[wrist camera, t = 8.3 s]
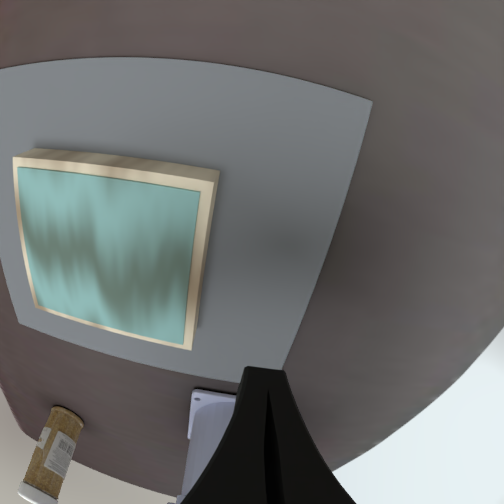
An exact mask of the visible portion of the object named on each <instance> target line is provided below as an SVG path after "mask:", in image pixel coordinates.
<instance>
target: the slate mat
mask: <svg viewBox="0 0 504 504" xmlns="http://www.w3.org/2000/svg"><path fill="white" fill-rule="evenodd" d="M372 103H373V101H370V100H367V99H364V98H361V97H358V96H355V95H352V94H349V93H346V92H343V91H340V90H336V89H333V88H330V87H326V86H323V85H319V84H315V83H312V82H308V81H304V80H300V79H296V78H292V77H287V76H283V75H279V74H274V73H269V72H264V71H259V70H254V69H248V68H242V67H236V66H230V65H223V64H216V63H208V62H199V61H189V60H178V59H163V58H139V57H106V58H83V59H69V60H58V61H49V62H41V63H33V64H27V65H21V66H15V67H9V68H4V69H0V258H1V262H2V267H3V271H4V275H5V278H6V282H7V286H8V289H9V293H10V296H11V300H12V303H13V306H14V309H15V312H16V315H17V318H18V321H19V323H20V324H23V325H25V326H28V327H30V328H33V329H35V330H38V331H40V332H43V333H46V334H48V335H51V336H54V337H57V338H59V339H62V340H65V341H68V342H71V343H74V344H77V345H80V346H83V347H86V348H89V349H92V350H96V351H99V352H102V353H106V354H109V355H112V356H116V357H119V358H123V359H127V360H130V361H134V362H138V363H142V364H146V365H150V366H154V367H158V368H163V369H167V370H172V371H176V372H181V373H186V374H191V375H196V376H201V377H206V378H212V379H218V380H223V381H230V382H236V383H240V381H241V377H242V374H243V370H244V367H246V366H254V367H261V368H269V369H277V370H281V369H282V367H283V364H284V362H285V360H286V357H287V355H288V353H289V350H290V348H291V345H292V343H293V341H294V338H295V336H296V333H297V331H298V328H299V326H300V323H301V321H302V318H303V316H304V313H305V311H306V308H307V306H308V303H309V300H310V298H311V295H312V292H313V290H314V287H315V285H316V282H317V279H318V276H319V274H320V271H321V268H322V265H323V263H324V260H325V257H326V254H327V251H328V249H329V246H330V243H331V240H332V237H333V234H334V231H335V228H336V225H337V222H338V219H339V216H340V213H341V210H342V207H343V204H344V201H345V198H346V195H347V191H348V188H349V185H350V182H351V178H352V175H353V172H354V169H355V165H356V162H357V158H358V155H359V151H360V148H361V144H362V141H363V137H364V134H365V130H366V126H367V123H368V119H369V115H370V111H371V107H372ZM34 148H41V149H55V150H68V151H80V152H90V153H100V154H109V155H118V156H127V157H134V158H142V159H150V160H157V161H164V162H170V163H177V164H183V165H190V166H196V167H202V168H207V169H213V170H219V171H220V175H219V180H218V186H217V192H216V198H215V204H214V210H213V216H212V222H211V229H210V235H209V242H208V249H207V255H206V262H205V269H204V276H203V283H202V291H201V298H200V306H199V314H198V322H197V329H196V333H195V337H194V341H193V346H192V350H186V349H181V348H176V347H172V346H167V345H163V344H159V343H154V342H150V341H146V340H142V339H138V338H134V337H130V336H126V335H122V334H118V333H115V332H111V331H107V330H104V329H100V328H97V327H94V326H90V325H87V324H83V323H80V322H77V321H74V320H71V319H68V318H64V317H61V316H58V315H55V314H52V313H49V312H47V311H44V310H41V309H38V308H35V304H34V301H33V297H32V293H31V289H30V285H29V281H28V276H27V272H26V267H25V262H24V257H23V252H22V246H21V240H20V234H19V227H18V220H17V211H16V202H15V191H14V177H13V157H14V156H16V155H19V154H21V153H23V152H26V151H28V150H31V149H34Z"/></svg>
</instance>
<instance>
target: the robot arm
mask: <svg viewBox="0 0 504 504" xmlns="http://www.w3.org/2000/svg"><path fill="white" fill-rule="evenodd" d="M188 439H190V443H189V449H188V455H187V461H186V467H185V474H184V480H183V486H182V493H181V495H178V496H177V501H176V504H356V503H355V502H354V500H353V499H352V498H351V497H350V496H349V494H348V493H347V492H346V491H345V490H344V488H343V487H342V486H341V485H340V483H339V482H338V480H337V479H336V478H335V476H334V475H333V473H332V472H331V470H330V469H329V467H328V466H327V464H326V463H325V461H324V459H323V458H322V456H321V454H320V453H319V451H318V449H317V447H316V445H315V443H314V442H313V440H312V438H311V436H310V434H309V432H308V430H307V428H306V425H305V423H304V421H303V419H302V416H301V414H300V412H299V409H298V407H297V405H296V402H295V399H294V397H293V394H292V391H291V388H290V386H289V383H288V379H287V376H286V373H285V372H284V370H277V369H269V368H261V367H254V366H246V367H244V370H243V374H242V377H241V381H240V384H239V388H238V391H237V395H229V394H223V393H217V392H211V391H206V390H200V389H195V390H193V391H192V397H191V407H190V417H189V428H188ZM167 504H175V503H167Z"/></svg>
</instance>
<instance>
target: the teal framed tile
mask: <svg viewBox="0 0 504 504" xmlns="http://www.w3.org/2000/svg"><path fill="white" fill-rule="evenodd" d="M219 175H220V171H219V170H213V169H207V168H202V167H196V166H190V165H183V164H177V163H170V162H164V161H157V160H150V159H142V158H134V157H127V156H118V155H109V154H100V153H90V152H80V151H68V150H55V149H41V148H34V149H31V150H28V151H26V152H23V153H21V154H19V155H16V156H14V157H13V177H14V191H15V202H16V211H17V220H18V227H19V234H20V240H21V246H22V252H23V257H24V262H25V267H26V272H27V276H28V281H29V285H30V289H31V293H32V297H33V301H34V304H35V308H38V309H41V310H44V311H47V312H49V313H52V314H55V315H58V316H61V317H64V318H68V319H71V320H74V321H77V322H80V323H83V324H87V325H90V326H94V327H97V328H100V329H104V330H107V331H111V332H115V333H118V334H122V335H126V336H130V337H134V338H138V339H142V340H146V341H150V342H154V343H159V344H163V345H167V346H172V347H176V348H181V349H186V350H192V346H193V341H194V337H195V333H196V329H197V322H198V314H199V306H200V298H201V291H202V283H203V276H204V269H205V262H206V255H207V249H208V242H209V235H210V229H211V222H212V216H213V210H214V204H215V198H216V192H217V186H218V180H219Z"/></svg>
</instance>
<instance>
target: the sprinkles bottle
mask: <svg viewBox="0 0 504 504" xmlns="http://www.w3.org/2000/svg"><path fill="white" fill-rule="evenodd" d="M83 426H84V424H83V421H82V420H81V419H80V418H79V417H78V416H77V415H75V414H74V413H73V412H71V411H69V410H67V409H65V408H63V407H59V406H54V407H53V408H52V409H51V414H50V416H49V418H48V421H47V423H46V425H45V427H44V428H43V431H42V433H41V435H40V438H39V440H38V443H37V445H36V448H35V450H34V453H33V455H32V459H31V462H30V464H29V467H28V470H27V472H26V475H25V478H24V479H23V482H21V483H20V486H19V489H18V494H19V495H20V496H21V497H23V498H24V499H26V500H27V501H29V502H31V503H33V504H58V501H57V499H58V495H59V493H60V489H61V486H62V483H63V480H64V479H65V476H66V473H67V470H68V467H69V464H70V461H71V458H72V455H73V452H74V449H75V447H76V442H77V439H78V437H79V434H80V431H81V429H82V428H83Z"/></svg>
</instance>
